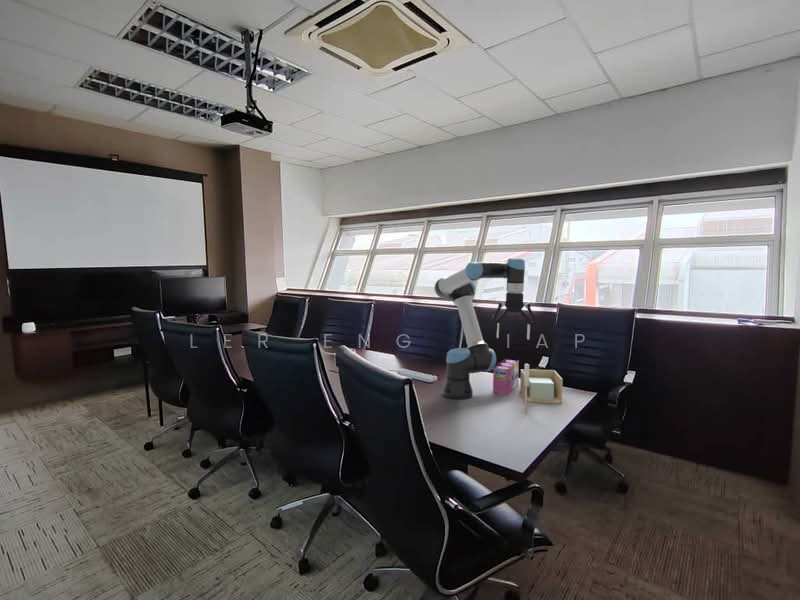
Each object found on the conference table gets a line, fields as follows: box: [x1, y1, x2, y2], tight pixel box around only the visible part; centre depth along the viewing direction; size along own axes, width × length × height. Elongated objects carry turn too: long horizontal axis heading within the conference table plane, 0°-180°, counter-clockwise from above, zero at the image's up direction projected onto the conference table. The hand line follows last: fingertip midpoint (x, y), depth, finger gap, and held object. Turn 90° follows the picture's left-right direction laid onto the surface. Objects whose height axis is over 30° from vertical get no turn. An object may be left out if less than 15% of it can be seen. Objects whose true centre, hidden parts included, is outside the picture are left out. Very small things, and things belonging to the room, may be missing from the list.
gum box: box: [492, 358, 520, 396], centre depth 213 cm, size 24×8×14 cm, turn 149°
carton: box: [519, 368, 564, 404], centre depth 198 cm, size 17×17×12 cm
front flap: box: [524, 363, 530, 415], centre depth 182 cm, size 17×2×22 cm, turn 163°
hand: (512, 338), depth 182 cm, fingers open, 13 cm apart
